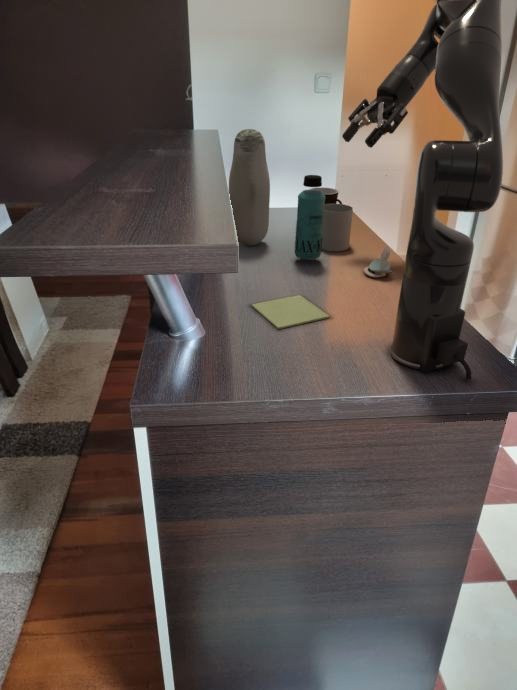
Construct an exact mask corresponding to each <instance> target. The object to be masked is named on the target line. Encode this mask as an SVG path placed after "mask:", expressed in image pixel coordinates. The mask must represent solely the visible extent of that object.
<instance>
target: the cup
mask: <svg viewBox="0 0 517 690" xmlns="http://www.w3.org/2000/svg"><path fill="white" fill-rule="evenodd" d="M353 209H354V208H353V206H351V205H347V204H344V203H342V204H340V203H336V204H324V218H323V221H324V222H323V231H322V238H323V239H322V248H321V250H323V251H327V252H328V251H329V252H342V251H343V252H344V251H346V250H348V249H350V243H351V242H350V241H351V231H352V221H353V211H354V210H353Z"/></svg>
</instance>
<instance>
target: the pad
mask: <svg viewBox="0 0 517 690" xmlns="http://www.w3.org/2000/svg"><path fill="white" fill-rule="evenodd" d="M251 308H253V309H254V310H256V311H257V312H258V313H259V314H260V315H261V316H262V317H263V318H264V319H265V320H267V321H268V322H269V323H270V324H272V325H273V327H275V328H276V329H277V330H282V329H287V328H290V327H294V326H299V325H303V324H308V323H313V322H317V321H321V320H326V319H329V318H330V315H329V314H327V313H326V312H325V311H323V310H322V309H320V308H319V307H318V306H317V305H315V304H314V303H312V302H311V301H309V300H307V298H305V297H303V296H302V295H301V294H298V295H294V296H293V295H291V296H287V297H283V298H282V297H281V298H278V299H272V300H267V301H261V302H258V303H253V304H251Z"/></svg>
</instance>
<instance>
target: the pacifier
mask: <svg viewBox="0 0 517 690" xmlns="http://www.w3.org/2000/svg"><path fill="white" fill-rule="evenodd" d="M390 255H391V251H390V249H389V247H387V246H385V247H384V248H383V250H382V252H381V255H380V258H376V259H374V260H372V261H371V262H370V264H369V266H366V267H365V268H364V270H363V272H364V274H365V275H366V276H368V277H371V278H381V277H385V276H386V275H387V274H390V273H393V270H390V269H391V264H390V262H388V261H387V260H388V259H389V258H390ZM370 271H372V272H374V273H372V272H370Z"/></svg>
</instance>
